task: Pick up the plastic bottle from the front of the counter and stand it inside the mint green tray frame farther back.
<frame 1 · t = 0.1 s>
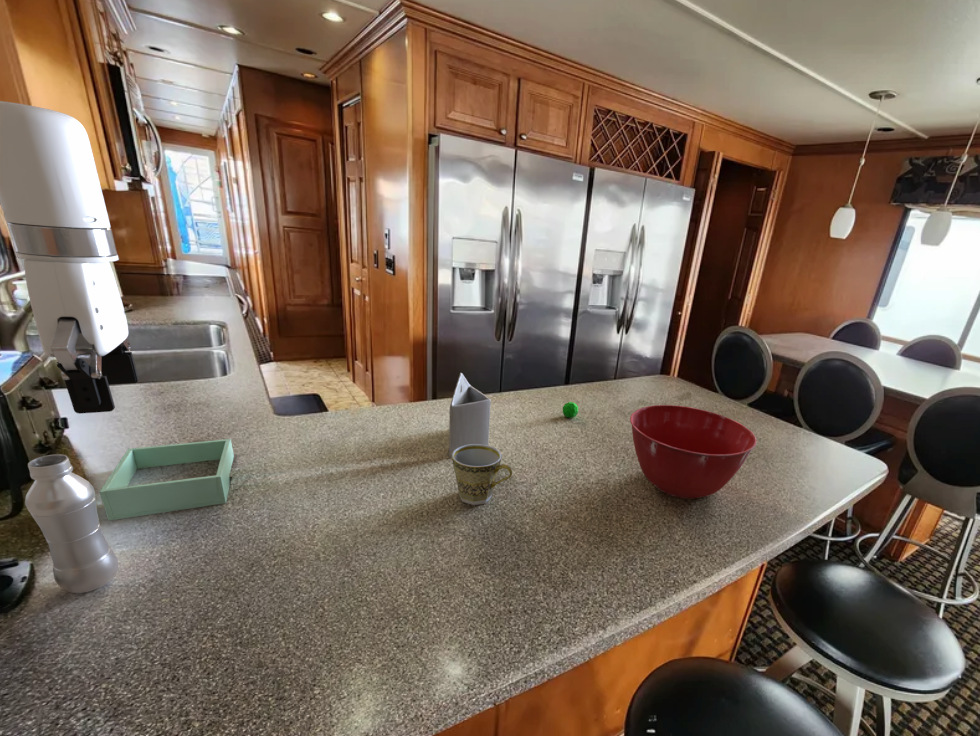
hand: (110, 396, 54), 30 cm above the kitchen counter, tool pointing down, fingers open, 9 cm apart
plastic bottle: (92, 583, 66), on the kitchen counter
mint green tray frame: (179, 488, 89), on the kitchen counter
mixing bowl: (678, 484, 111), on the kitchen counter
planter: (473, 446, 119), on the kitchen counter
ceramic cup: (481, 499, 97), on the kitchen counter
polyhedron: (569, 417, 144), on the kitchen counter
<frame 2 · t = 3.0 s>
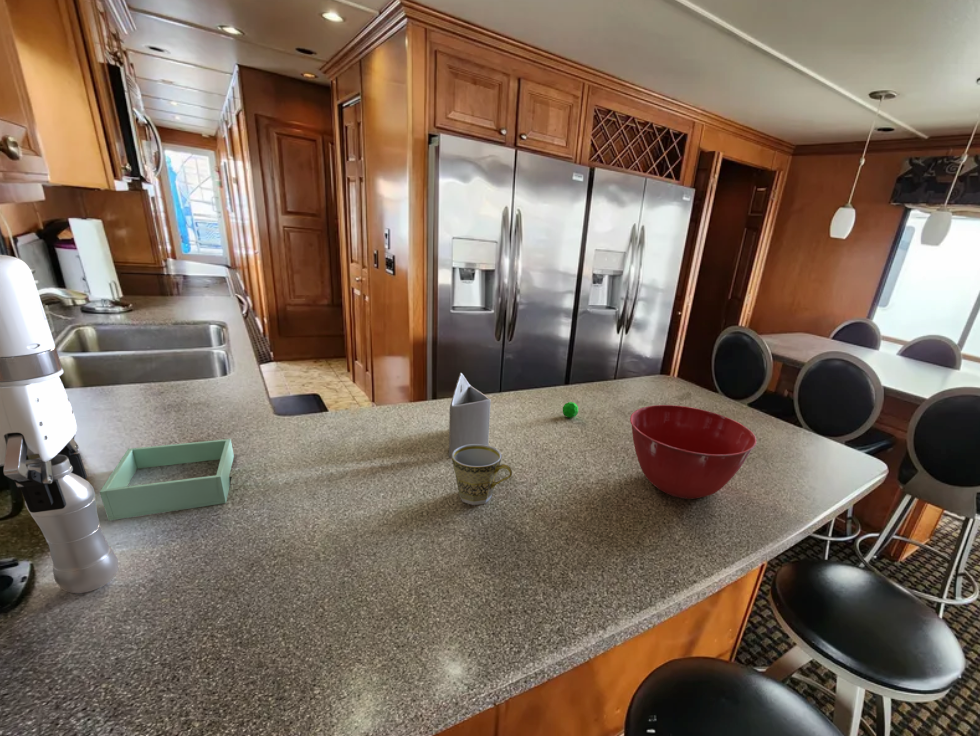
hand: (60, 493, 61), 15 cm above the kitchen counter, tool pointing down, fingers closed on plastic bottle, 6 cm apart
plastic bottle: (92, 583, 66), on the kitchen counter, touching gripper
everything else where it was.
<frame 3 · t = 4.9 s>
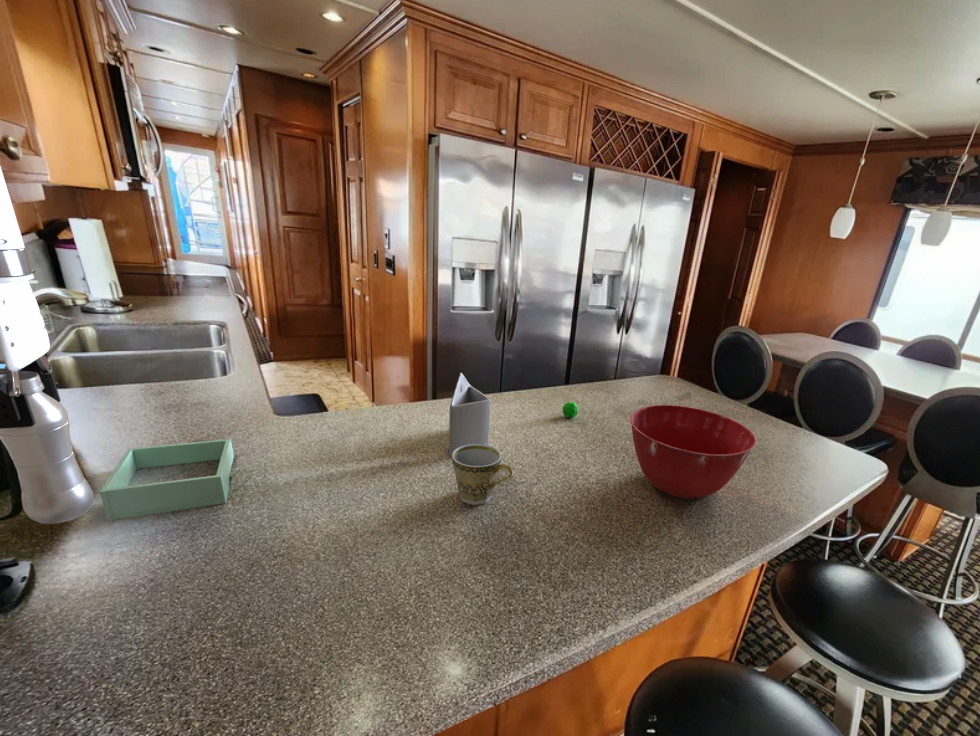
hand: (30, 413, 56), 26 cm above the kitchen counter, tool pointing down, fingers closed on plastic bottle, 6 cm apart
plastic bottle: (65, 516, 62), point 11 cm above the kitchen counter, touching gripper
everything else where it was.
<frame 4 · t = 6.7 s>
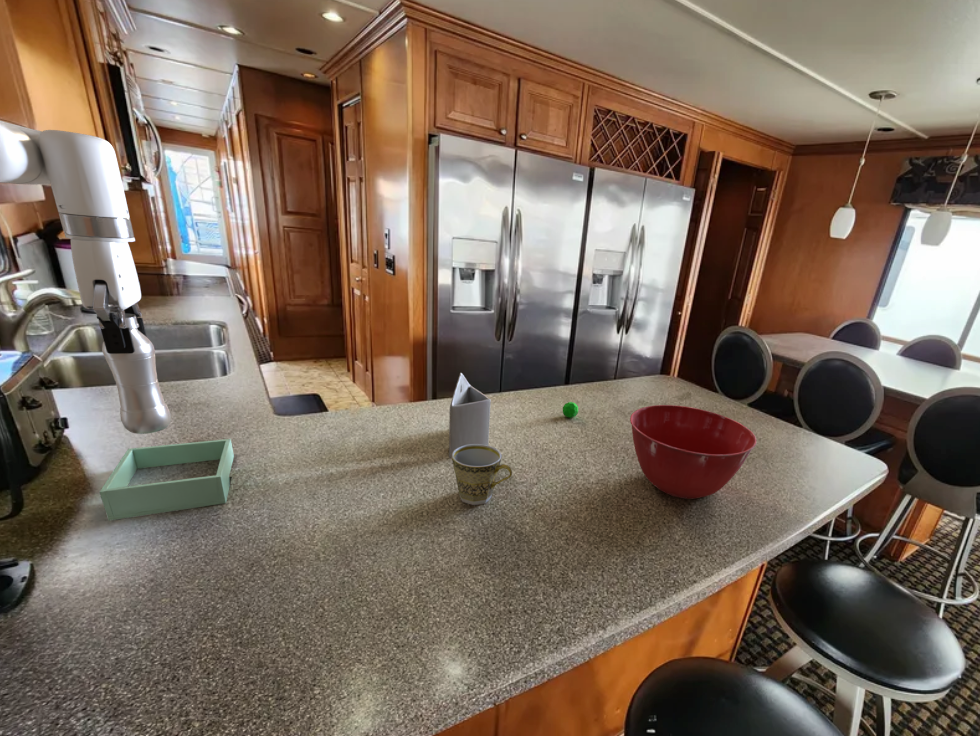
hand: (128, 346, 74), 29 cm above the kitchen counter, tool pointing down, fingers closed on plastic bottle, 6 cm apart
plastic bottle: (149, 431, 80), point 14 cm above the kitchen counter, touching gripper
everything else where it was.
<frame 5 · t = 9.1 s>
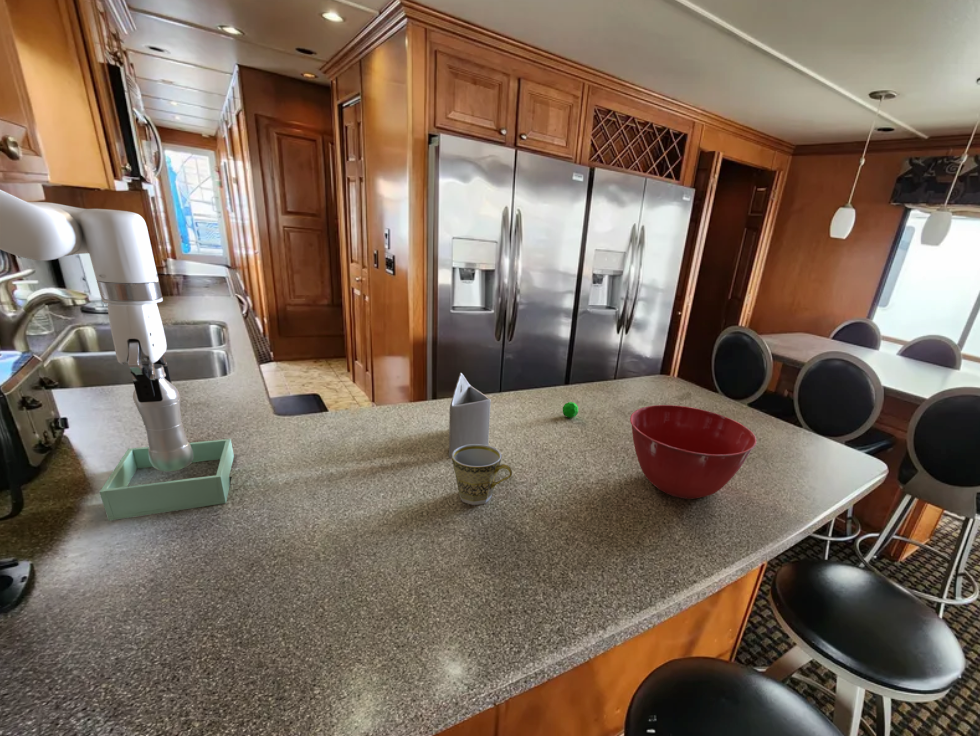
hand: (156, 393, 82), 20 cm above the kitchen counter, tool pointing down, fingers closed on plastic bottle, 6 cm apart
plastic bottle: (174, 468, 87), point 4 cm above the kitchen counter, touching gripper
everything else where it was.
when the fingers open (16 cm above the kitchen counter, at t = 10.7 s): plastic bottle stays where it is, resting on mint green tray frame.
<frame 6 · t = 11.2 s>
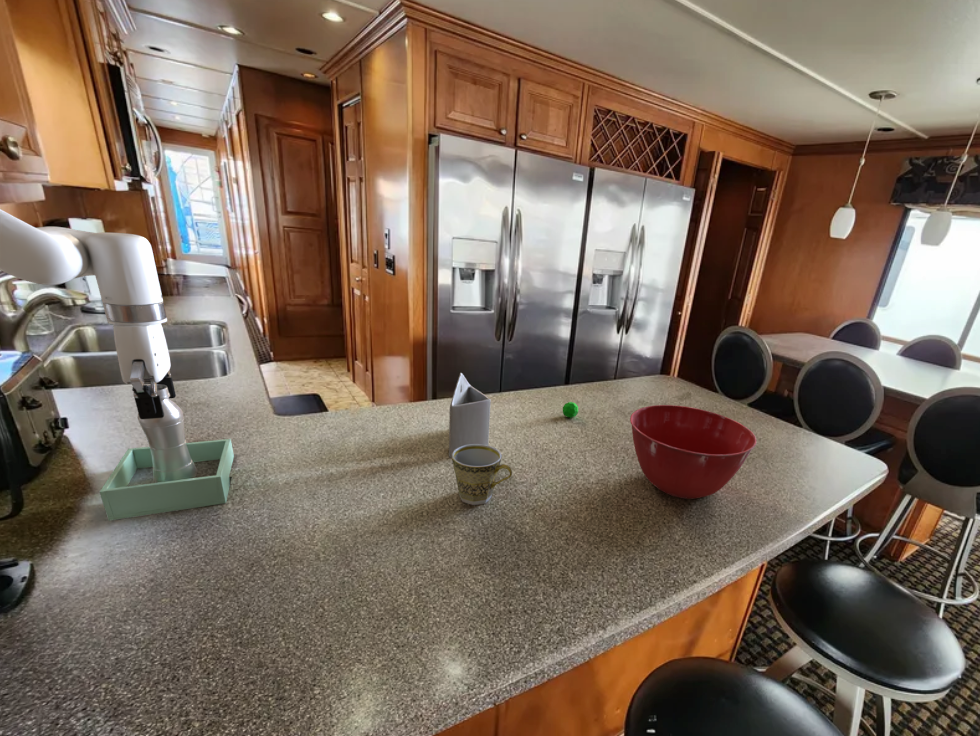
hand: (159, 407, 83), 17 cm above the kitchen counter, tool pointing down, fingers open, 9 cm apart
plastic bottle: (178, 485, 89), point 1 cm above the kitchen counter, touching mint green tray frame
everything else where it was.
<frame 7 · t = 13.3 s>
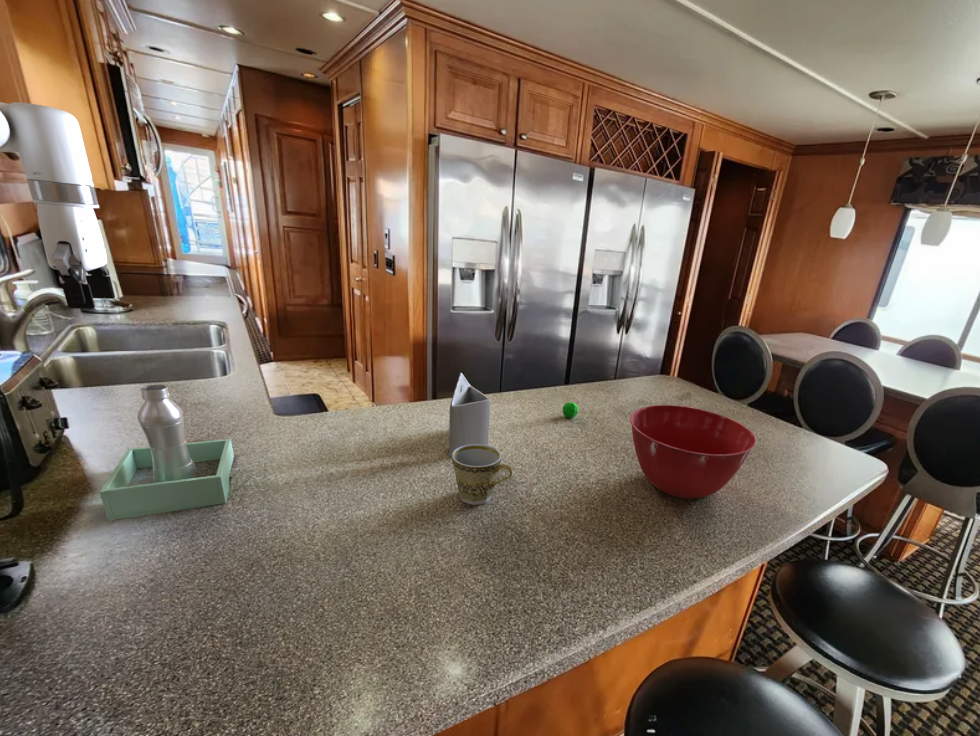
hand: (93, 303, 80), 34 cm above the kitchen counter, tool pointing down, fingers open, 9 cm apart
nothing on the kitchen counter moved.
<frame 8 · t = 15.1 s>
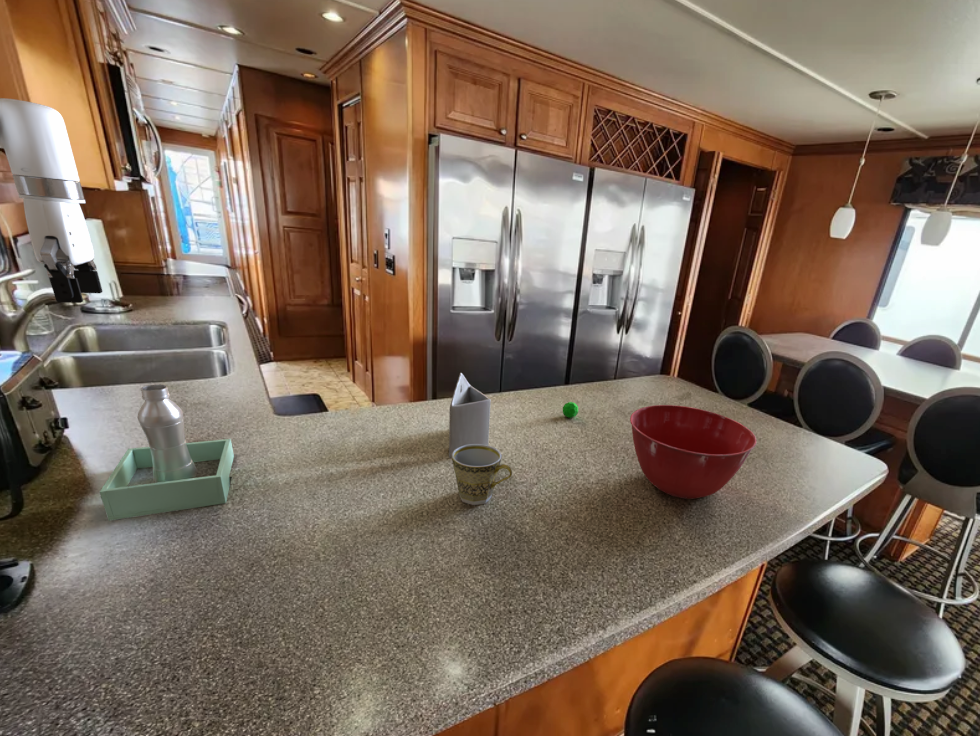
hand: (81, 297, 81), 34 cm above the kitchen counter, tool pointing down, fingers open, 9 cm apart
nothing on the kitchen counter moved.
at the end: plastic bottle inside the target area in the mint green tray frame (0.1 cm from its centre), point 0.6 cm above the mint green tray frame's base; plastic bottle tilted 0°; the gripper is holding nothing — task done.
